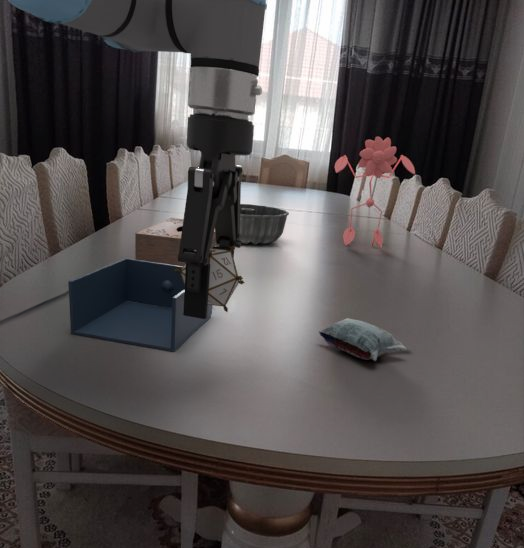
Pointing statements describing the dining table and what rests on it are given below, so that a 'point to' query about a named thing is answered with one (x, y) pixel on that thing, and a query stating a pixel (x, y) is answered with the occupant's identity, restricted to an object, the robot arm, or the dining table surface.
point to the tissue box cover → (162, 242)
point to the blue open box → (132, 305)
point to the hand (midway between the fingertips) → (208, 304)
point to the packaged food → (361, 339)
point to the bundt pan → (261, 223)
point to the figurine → (376, 162)
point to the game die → (219, 276)
